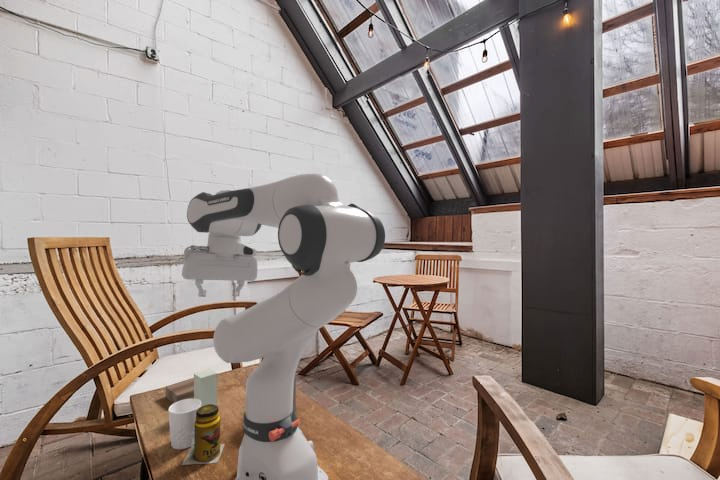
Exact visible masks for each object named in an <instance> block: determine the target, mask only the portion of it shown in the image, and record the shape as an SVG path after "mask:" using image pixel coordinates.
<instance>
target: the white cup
mask: <svg viewBox="0 0 720 480" xmlns="http://www.w3.org/2000/svg"><path fill="white" fill-rule="evenodd" d="M200 407H201V401H200V400H198V399H184V400H181V401H178V402H176V403H174V404H173V403H172V404H171V405H170V406H169V407H168V423H169V436H170V441H171V443H170V445H171V447H172V449H174V450H180V451H181V450H185V449H190V448H191V446H194V445H195V443H194V442H195V435H194V434H195V432H194V424H195V421H196V411H197V410H198V409H199V408H200Z"/></svg>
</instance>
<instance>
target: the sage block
mask: <svg viewBox="0 0 720 480" xmlns="http://www.w3.org/2000/svg"><path fill="white" fill-rule="evenodd" d="M217 375H218V373H217V372H216V371H214V370H212V369H210V368H209V369H204V370H200V371H199V372H195V373H193V378H194V399H198V400H200V401H201V407H202V406H204V405H208V404H213V405H216V406H218V380H217V379H218V376H217Z"/></svg>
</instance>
